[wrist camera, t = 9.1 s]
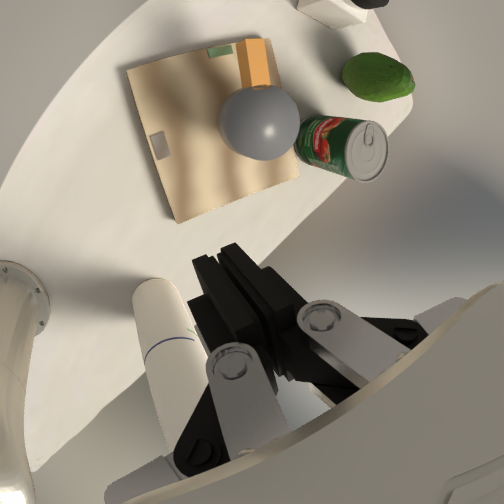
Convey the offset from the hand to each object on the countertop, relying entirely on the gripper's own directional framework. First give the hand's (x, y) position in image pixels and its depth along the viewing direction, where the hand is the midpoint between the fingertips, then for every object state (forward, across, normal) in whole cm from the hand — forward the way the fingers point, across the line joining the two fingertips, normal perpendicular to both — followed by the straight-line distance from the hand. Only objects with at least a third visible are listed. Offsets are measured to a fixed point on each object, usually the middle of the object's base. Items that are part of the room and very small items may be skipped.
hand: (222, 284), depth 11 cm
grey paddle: (+21, -12, -5) cm, 25 cm away
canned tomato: (+27, -24, +3) cm, 37 cm away
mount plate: (+27, -10, -2) cm, 29 cm away
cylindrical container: (+27, +5, +18) cm, 33 cm away
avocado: (+27, -33, -6) cm, 43 cm away
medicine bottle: (+27, -29, -19) cm, 44 cm away
